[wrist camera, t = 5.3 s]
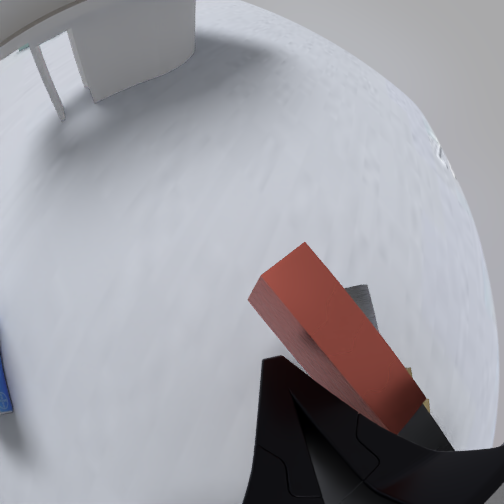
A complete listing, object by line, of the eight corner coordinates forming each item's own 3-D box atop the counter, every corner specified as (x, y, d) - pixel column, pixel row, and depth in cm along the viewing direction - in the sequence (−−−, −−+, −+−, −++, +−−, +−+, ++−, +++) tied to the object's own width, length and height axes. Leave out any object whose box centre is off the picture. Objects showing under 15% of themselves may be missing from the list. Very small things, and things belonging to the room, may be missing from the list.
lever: (405, 497, 7) (448, 519, 4) (235, 310, 10) (243, 287, 6) (439, 458, 8) (487, 470, 4) (289, 268, 10) (320, 229, 7)
